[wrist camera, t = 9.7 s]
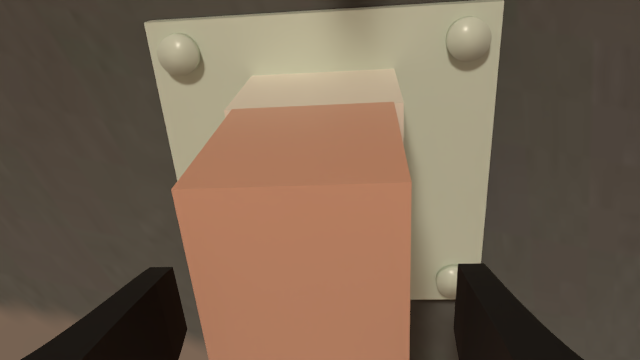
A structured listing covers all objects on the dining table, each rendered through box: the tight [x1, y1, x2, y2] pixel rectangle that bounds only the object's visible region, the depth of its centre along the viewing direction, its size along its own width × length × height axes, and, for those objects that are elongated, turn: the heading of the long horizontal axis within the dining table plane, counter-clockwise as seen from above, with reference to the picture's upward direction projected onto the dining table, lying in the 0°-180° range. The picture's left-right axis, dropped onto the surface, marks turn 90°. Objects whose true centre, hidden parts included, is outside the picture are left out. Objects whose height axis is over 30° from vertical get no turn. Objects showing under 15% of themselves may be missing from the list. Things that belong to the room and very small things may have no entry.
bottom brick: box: [224, 69, 404, 145], centre depth 17 cm, size 8×5×4 cm, turn 4°
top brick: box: [171, 102, 412, 360], centre depth 13 cm, size 8×4×5 cm, turn 4°
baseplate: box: [144, 0, 504, 300], centre depth 19 cm, size 12×12×1 cm
